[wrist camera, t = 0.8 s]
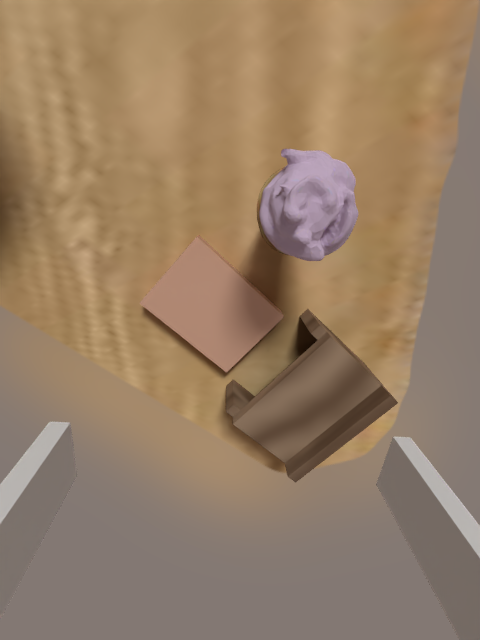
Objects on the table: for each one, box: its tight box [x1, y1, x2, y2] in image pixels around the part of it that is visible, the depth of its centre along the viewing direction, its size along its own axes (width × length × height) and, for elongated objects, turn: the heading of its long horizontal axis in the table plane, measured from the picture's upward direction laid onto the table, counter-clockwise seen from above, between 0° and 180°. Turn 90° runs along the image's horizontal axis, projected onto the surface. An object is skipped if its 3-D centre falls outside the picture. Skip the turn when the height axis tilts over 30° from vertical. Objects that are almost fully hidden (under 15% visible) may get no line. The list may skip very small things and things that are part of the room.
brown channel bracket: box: [226, 309, 398, 482], centre depth 33 cm, size 10×13×8 cm
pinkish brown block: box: [140, 235, 284, 373], centre depth 33 cm, size 12×9×2 cm
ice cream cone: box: [257, 149, 358, 261], centre depth 23 cm, size 7×6×15 cm
